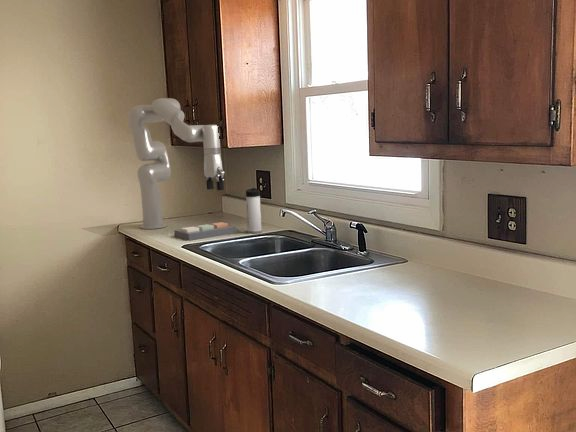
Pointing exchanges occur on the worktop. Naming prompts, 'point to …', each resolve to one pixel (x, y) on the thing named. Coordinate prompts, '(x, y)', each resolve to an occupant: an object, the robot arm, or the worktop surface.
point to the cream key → (189, 229)
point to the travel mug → (253, 210)
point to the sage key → (205, 227)
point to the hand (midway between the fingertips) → (215, 189)
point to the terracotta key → (219, 225)
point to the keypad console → (205, 233)
